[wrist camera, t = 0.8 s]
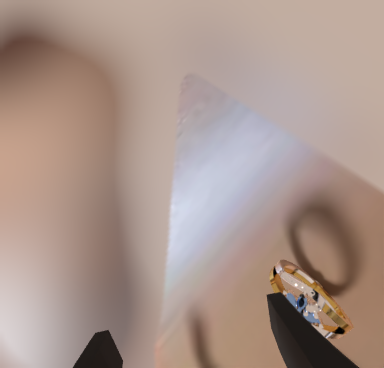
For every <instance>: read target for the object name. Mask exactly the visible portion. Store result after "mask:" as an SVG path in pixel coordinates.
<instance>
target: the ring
mask: <svg viewBox="0 0 384 368" xmlns="http://www.w3.org/2000/svg"><path fill="white" fill-rule="evenodd" d="M286 272H287V273H290V274H293V275H294V276H296V277H298V278H299V279H301V280H302V281H303V282H304V283H305V284H304V283H302V282H300V281H298V280H297V279H295V278H293V277H292V276H290V275H289V274H287V273H286ZM280 277H281V278H282V279H283V280H285V281H286V282H287V283H289V284H290V285H292V286H294V287H295V288H297V289H299V290H301V291H302V292H303V293H301V294H300V295H299V297H297V296H296V295H295V294H294V293H293V291H292V290H291V289H288V290H285V288H284V286H283V284H282V282H281V278H280ZM270 282H271V285H272V288H273V290H274V292H275V293H277V292H281V293H283V294H284V296H285V297H286V298H287V299H288V300H289V301H290V303H291V304H292V305H293V306H294V307H295V308H296V309H297V310H298V311H299V312H300V313H301V314H302V315H303V316H304V318H305V319H306V320H307V321H308V322H309V323H310V324H311V325H312V326H313V327H314V328H316V329H317V330H318V331H319V332H320V333H321V334H322V335H323V336H324V337H326V338H330V339H339V338H341V337H343V336H344V335H345V334H347V333H348V332H349V331H350V330H351V329H353V328H354V326H353V324H352V322H351V321H350V319H349V318H348V316H347V315H346V314H345V312H344V311H343V310H342V309H341V307H340V306H339V305H338V304H337V303H336V302H335V300H334V299H333V298H332V297H331V296H330V295H329V294H328V293H327V292H326V291H325V290H324V289H323V286H322V285H321V284H320V283H319V282H318V281H317V280H314V279H313V278H312V277H311V276H310V275H309V274H308V273H306V272H305V271H304V270H302V269H301V268H300V267H298V266H297V265H295V264H293V263H291V262H289V261H287V260H280V261H279V262H278V263H277V264H276V265H275V266H274V267H273V268H272V269H271V271H270ZM306 284H307V285H308V286H307V285H306ZM308 295H309V296H310V297H312V298H313V299H314V300H315V301H316V302H313V300H309V301H308V297H307V296H308ZM321 310H323V311H324V312H325V313H326V314H327V315H328V316H329V317H330V318H331V319H332V320H333V321H334V322H335V323H337V327H333V326H328V325H324V324H323V322H322V319H321V318H320V316H318V311H321Z"/></svg>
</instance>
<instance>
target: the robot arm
mask: <svg viewBox="0 0 384 368" xmlns="http://www.w3.org/2000/svg"><path fill="white" fill-rule="evenodd" d="M267 301H268V308H269V315H270V322H271V329H272V331H273V334H274V337H275V340H276V342H277V345H278V348H279V350H280V353H281V355H282V357H283V360H284V362H285V364H286V366H287V368H359V367H358V366H357V365H355V364H354V363H353V362H352V361H351V360H349V359H348V358H347V357H346V356H345V355H344V354H343V353H341V352H340V351H339V350H338V349H337V348H336V347H335V346H333V345H332V344H331V343H330V342H329V341H328V340H327V339H326V338H325V337H324V336H323V335H322V334H321V333H320V332H319V331H318V330H317V329H316V328H314V327H313V326H312V325H311V324H310V323H309V322H308V321H307V320H306V319H305V318H304V316H303V315H302V314H301V313H300V312H299V311H298V310H297V309H296V308H295V307H294V306H293V305H292V304H291V303H290V301H289V300H288V299H287V298H286V297H285V296H284V294H283V293H281V292H277V293H273V294H268V295H267ZM122 364H123V360H122V358H121V356H120V354H119V351H118V349H117V347H116V345H115V343H114V341H113V339H112V337H111V334H110V332H109V331H108V330H107V331H102V332H97V333H95V335H94V336H93V337H92V339H91V340H90V342H89V343H88V345H87V346H86V348H85V349H84V351H83V353H82V354H81V356H80V357H79V359H78V360H77V362H76V363H75V365H74V367H73V368H122Z"/></svg>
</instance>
